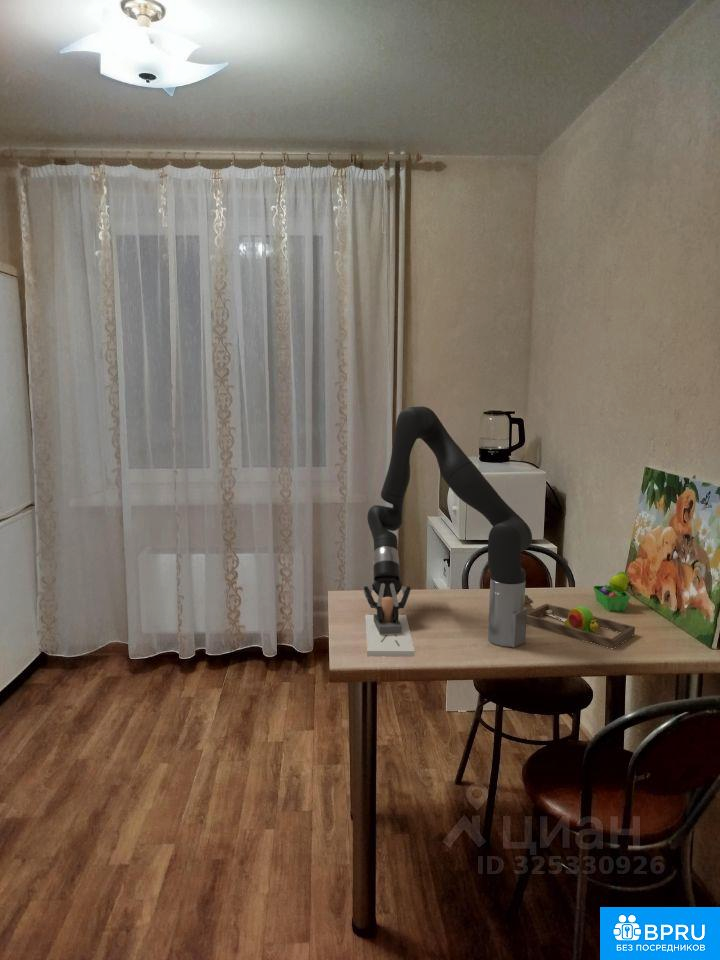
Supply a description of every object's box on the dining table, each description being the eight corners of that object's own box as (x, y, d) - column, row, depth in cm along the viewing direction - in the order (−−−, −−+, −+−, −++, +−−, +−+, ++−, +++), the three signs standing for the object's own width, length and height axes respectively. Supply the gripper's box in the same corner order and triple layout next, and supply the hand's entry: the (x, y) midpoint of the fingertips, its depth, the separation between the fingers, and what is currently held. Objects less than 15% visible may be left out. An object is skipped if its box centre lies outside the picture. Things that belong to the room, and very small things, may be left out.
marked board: (365, 619, 192) (365, 614, 192) (405, 619, 192) (406, 614, 192) (367, 656, 166) (367, 650, 166) (414, 656, 166) (414, 651, 166)
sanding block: (373, 621, 186) (373, 593, 185) (394, 620, 187) (394, 592, 185) (379, 635, 176) (380, 605, 175) (401, 634, 177) (402, 604, 176)
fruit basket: (591, 600, 210) (593, 567, 209) (617, 600, 211) (620, 566, 209) (606, 613, 199) (608, 577, 198) (634, 612, 200) (637, 577, 198)
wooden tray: (634, 635, 182) (635, 626, 181) (613, 649, 172) (613, 640, 171) (546, 611, 200) (546, 603, 200) (522, 622, 190) (522, 614, 190)
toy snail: (588, 638, 180) (590, 615, 179) (538, 615, 197) (540, 594, 196) (605, 634, 183) (606, 612, 182) (554, 612, 200) (555, 592, 199)
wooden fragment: (538, 617, 196) (538, 614, 195) (500, 615, 197) (500, 612, 197) (527, 591, 221) (527, 588, 221) (494, 589, 222) (494, 586, 222)
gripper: (362, 559, 186) (362, 615, 175) (411, 559, 186) (414, 615, 176) (361, 571, 192) (362, 626, 181) (409, 572, 192) (412, 627, 182)
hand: (388, 621), depth 179 cm, fingers closed on sanding block, 3 cm apart
